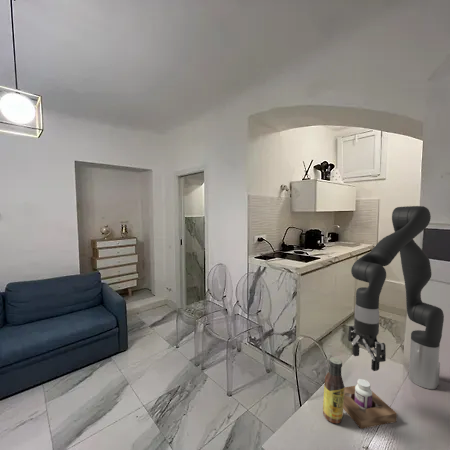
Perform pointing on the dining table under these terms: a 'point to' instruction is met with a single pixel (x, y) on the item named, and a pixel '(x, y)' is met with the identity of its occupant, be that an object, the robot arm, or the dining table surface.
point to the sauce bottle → (333, 392)
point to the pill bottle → (363, 394)
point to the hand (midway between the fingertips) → (364, 362)
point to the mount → (368, 410)
